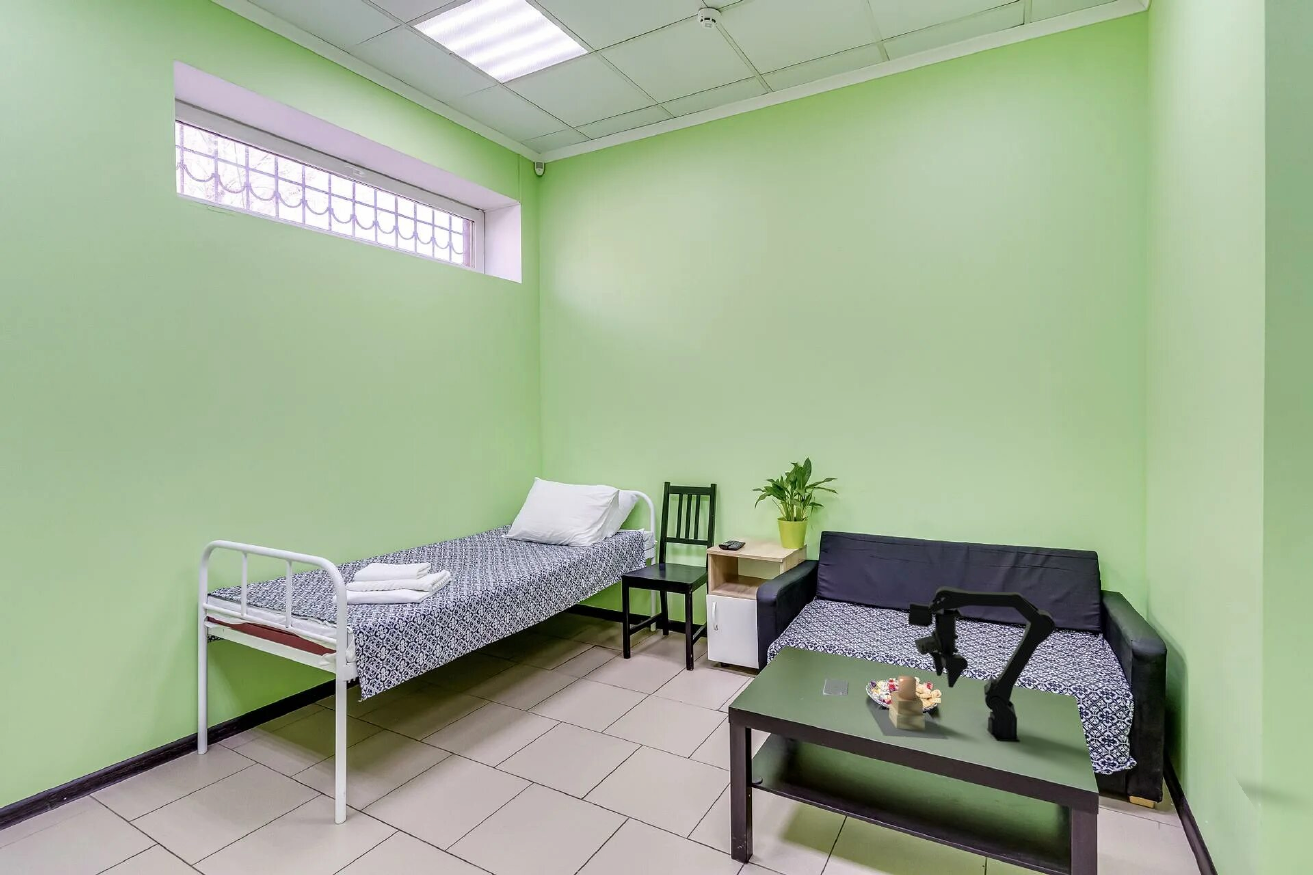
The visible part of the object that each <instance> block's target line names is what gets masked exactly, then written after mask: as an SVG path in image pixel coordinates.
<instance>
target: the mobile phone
mask: <svg viewBox="0 0 1313 875" xmlns="http://www.w3.org/2000/svg"><path fill="white" fill-rule="evenodd" d="M848 685H849V681H847V680H841V679H836V678H826V679H825V682H824V687H823V692H822V694H823V695H824V696H828V695H832V696H837V697H846V696H847V694H848Z"/></svg>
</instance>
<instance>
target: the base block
mask: <svg viewBox="0 0 1313 875" xmlns="http://www.w3.org/2000/svg"><path fill="white" fill-rule="evenodd" d="M888 704H889V707H888V708H889V709H888V710H889V717H890V719H891V720H892V722H893V723H894V725H895V727H896V728H897V729H914V730H925V716H924V715H923V716H920V715H902V714H898V713H897V712H896V710H895V709H894V707H893V706H892V703H888Z"/></svg>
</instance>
